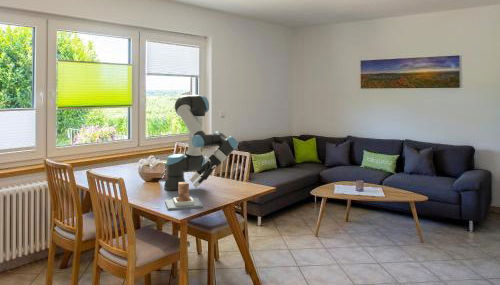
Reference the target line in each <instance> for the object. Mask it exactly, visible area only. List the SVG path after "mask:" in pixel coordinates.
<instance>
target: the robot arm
mask: <svg viewBox="0 0 500 285" xmlns="http://www.w3.org/2000/svg"><path fill="white" fill-rule="evenodd" d="M209 110H210V102H209V100H208V97H206V96H205V95H202V94H193V95H192V94H189V95H188V94H184V95H181V96H178V98H177V99H176V100H175V103H174V111H175V113H176V115H177V116H178V117H179V118H181V120H182V122H183V124H184V125H185V126H186V128H187V130H188V133H189V134H188V146H187V150H186V152H185V155H184V154H183V153H176V154H175V153H174V154H170V155H169V156H167V158H166V162H167V163H166V164H167V179H165V181H164V182H165V183H164V190H166V191H171V192H172V191H174V192H175V191H176V192H178V182H186V179H185V173H192V172H195V173H194V174H193V175H192V177H190V178H189V181H190V182H191V183H193V184H192V186H194V188H195V189H198V187H199V186H201V184H202V183H203V182H204V181H206V180H208V178H209V177H210V175H211V174H212V172H213V171H214V170H215V169H216V167H219V166H220V165H221V164H222V162H224V161H225V160H227V158H228V156H230V155H231V154H232V152H233V151H234V150H236V148H238V146H239V141H238V140H237V139H236V138H235V137H234V136H232V135H229V136H228V137H227V136H226V135H225V134H224V133H222V132H221V131H215V132H213V134H212V133H211V134H206V133H205V131H204V130H203V118H204V117H205V116H206V113H208V112H209ZM210 147H217V149H215V151H214V152H213V154H211V155H210V156H209V157H208V160H207V161H206V158H205V155H204V154H203V151H201V149H202V148H210Z"/></svg>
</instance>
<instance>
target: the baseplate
mask: <svg viewBox="0 0 500 285" xmlns="http://www.w3.org/2000/svg"><path fill="white" fill-rule="evenodd" d="M164 203H165V205H166V208H167V211H177V210H189V209H203V208H204V205H203V204H202V202H201V200H200V199H199V198H198V197H192V196H189V201H183V202H178V196H177V197H172V199H164Z"/></svg>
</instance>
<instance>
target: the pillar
mask: <svg viewBox="0 0 500 285" xmlns="http://www.w3.org/2000/svg"><path fill="white" fill-rule="evenodd" d="M177 192H178V193H177V197H178V202H183V201H189V197H190V184H189V182H188V181H185V182H178V191H177Z"/></svg>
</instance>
